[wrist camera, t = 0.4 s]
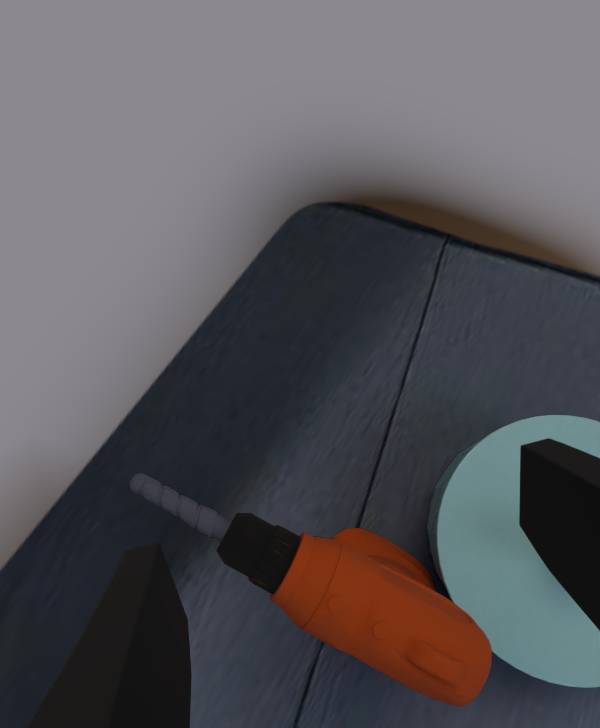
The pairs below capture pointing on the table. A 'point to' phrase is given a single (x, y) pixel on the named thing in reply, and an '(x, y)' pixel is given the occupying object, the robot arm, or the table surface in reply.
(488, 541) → the lid
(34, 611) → the table surface
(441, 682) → the toy drill
